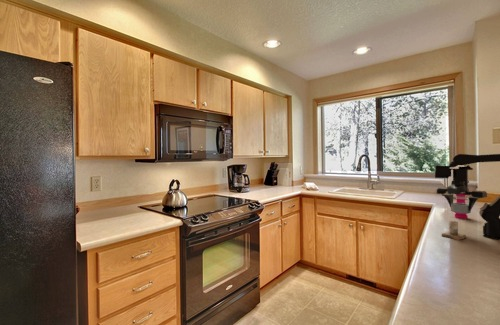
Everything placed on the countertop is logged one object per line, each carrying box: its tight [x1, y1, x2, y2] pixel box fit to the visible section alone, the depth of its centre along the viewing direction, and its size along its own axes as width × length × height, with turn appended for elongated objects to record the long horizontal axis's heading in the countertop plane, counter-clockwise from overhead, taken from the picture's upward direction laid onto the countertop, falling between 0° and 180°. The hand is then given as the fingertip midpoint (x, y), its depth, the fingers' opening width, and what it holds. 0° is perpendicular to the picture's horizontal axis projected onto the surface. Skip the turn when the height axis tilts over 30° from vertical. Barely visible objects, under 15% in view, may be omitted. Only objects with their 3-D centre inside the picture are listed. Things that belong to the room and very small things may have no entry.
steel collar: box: [450, 202, 472, 215], centre depth 123 cm, size 7×7×4 cm
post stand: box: [441, 220, 467, 241], centre depth 117 cm, size 7×7×7 cm
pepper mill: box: [454, 194, 469, 220], centre depth 154 cm, size 7×7×20 cm
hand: (460, 209), depth 123 cm, fingers closed on steel collar, 7 cm apart
